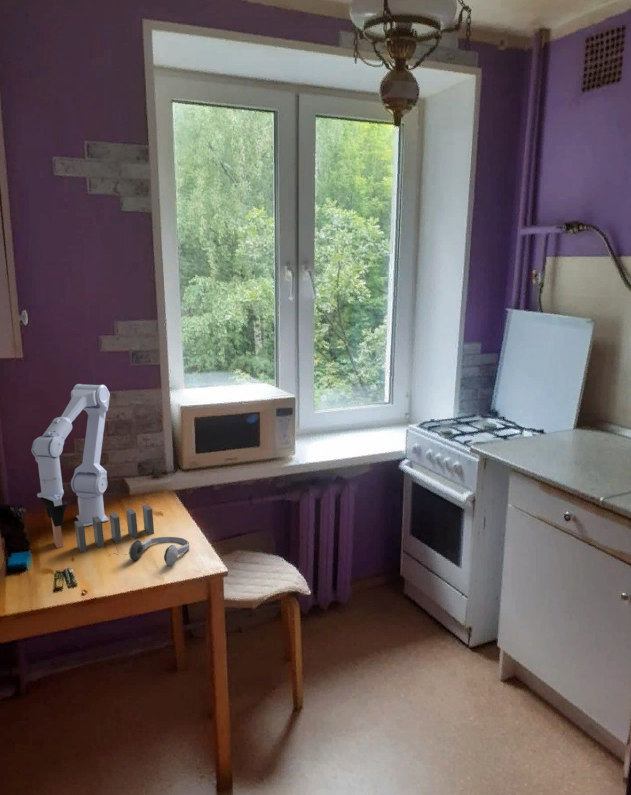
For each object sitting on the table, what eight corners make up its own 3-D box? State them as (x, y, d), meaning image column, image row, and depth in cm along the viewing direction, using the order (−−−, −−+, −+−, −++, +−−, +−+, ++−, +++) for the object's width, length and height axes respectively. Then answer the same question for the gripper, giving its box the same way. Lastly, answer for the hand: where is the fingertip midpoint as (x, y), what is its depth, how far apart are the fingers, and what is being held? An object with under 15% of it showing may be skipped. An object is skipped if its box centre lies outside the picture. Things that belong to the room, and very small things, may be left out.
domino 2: (77, 546, 178) (74, 521, 176) (82, 545, 178) (80, 520, 177) (80, 552, 174) (78, 526, 172) (86, 551, 175) (84, 525, 173)
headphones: (163, 575, 159) (199, 552, 178) (163, 553, 159) (199, 533, 178) (106, 566, 164) (147, 545, 183) (106, 545, 164) (147, 526, 183)
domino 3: (94, 542, 180) (92, 517, 178) (100, 540, 181) (97, 516, 179) (98, 547, 177) (96, 522, 175) (104, 546, 178) (101, 521, 176)
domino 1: (54, 542, 180) (51, 517, 179) (59, 541, 181) (57, 516, 180) (57, 548, 177) (54, 522, 175) (63, 546, 178) (60, 521, 176)
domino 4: (111, 537, 183) (109, 513, 181) (117, 536, 184) (114, 512, 182) (116, 543, 179) (113, 518, 178) (121, 541, 180) (119, 517, 178)
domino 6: (144, 529, 188) (142, 505, 187) (149, 528, 189) (147, 504, 188) (149, 534, 185) (147, 510, 183) (154, 533, 186) (152, 508, 184)
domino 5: (128, 533, 186) (126, 509, 184) (133, 532, 187) (131, 508, 185) (132, 538, 182) (130, 514, 180) (138, 537, 183) (135, 512, 181)
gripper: (31, 473, 178) (36, 516, 181) (40, 487, 166) (45, 533, 169) (56, 468, 182) (61, 510, 185) (67, 482, 170) (72, 527, 173)
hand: (55, 521), depth 177 cm, fingers open, 7 cm apart
